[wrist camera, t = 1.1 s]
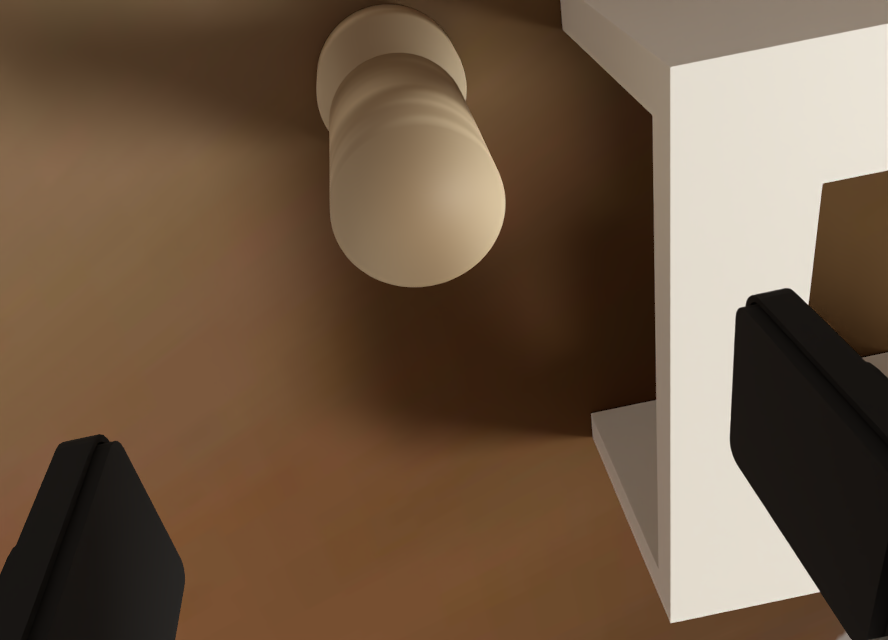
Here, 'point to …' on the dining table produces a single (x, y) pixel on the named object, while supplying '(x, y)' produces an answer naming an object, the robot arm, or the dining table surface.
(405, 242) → the peg
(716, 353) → the keyhole shelf
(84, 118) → the dining table surface
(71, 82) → the dining table surface
